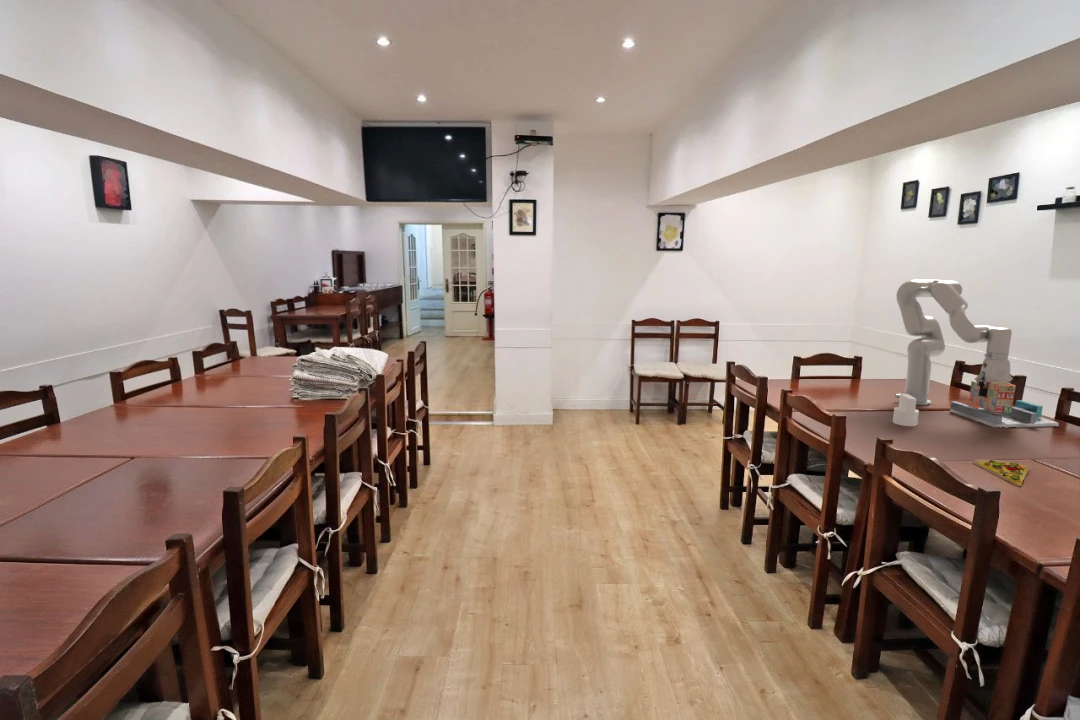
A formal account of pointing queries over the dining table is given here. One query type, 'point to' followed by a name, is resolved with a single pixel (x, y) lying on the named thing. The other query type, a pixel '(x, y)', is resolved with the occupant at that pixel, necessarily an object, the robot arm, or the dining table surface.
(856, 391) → the dining table surface
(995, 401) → the stack of blocks
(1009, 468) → the pizza slice
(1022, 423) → the base
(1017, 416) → the sliding jaw
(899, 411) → the base with upright slab
